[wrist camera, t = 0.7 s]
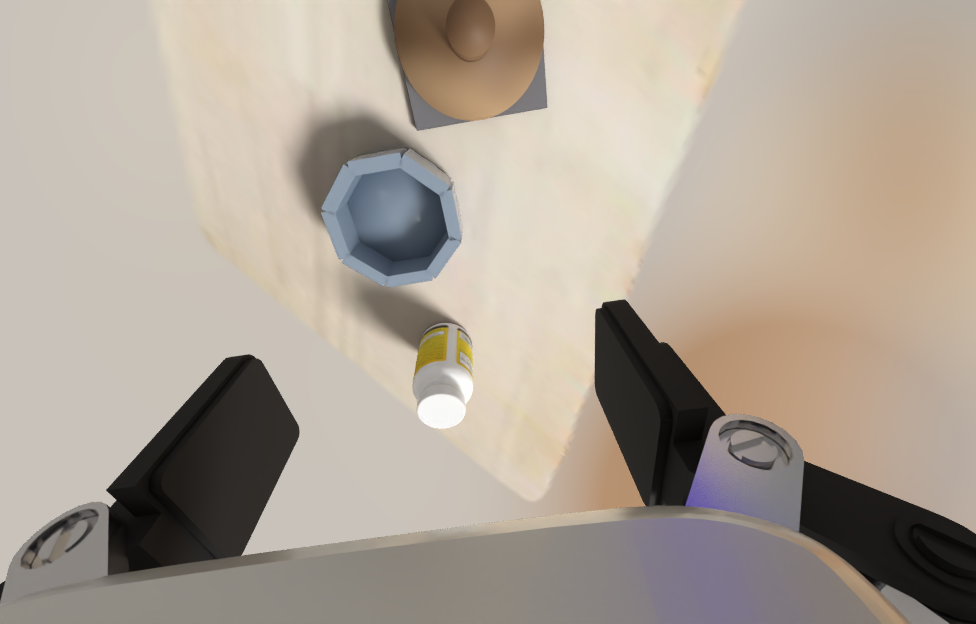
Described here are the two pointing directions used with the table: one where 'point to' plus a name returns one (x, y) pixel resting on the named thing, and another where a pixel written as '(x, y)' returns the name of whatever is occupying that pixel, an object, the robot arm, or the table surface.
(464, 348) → the supplement bottle
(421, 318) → the table surface
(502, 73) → the lid
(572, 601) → the robot arm
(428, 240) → the bowl
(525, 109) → the mat
